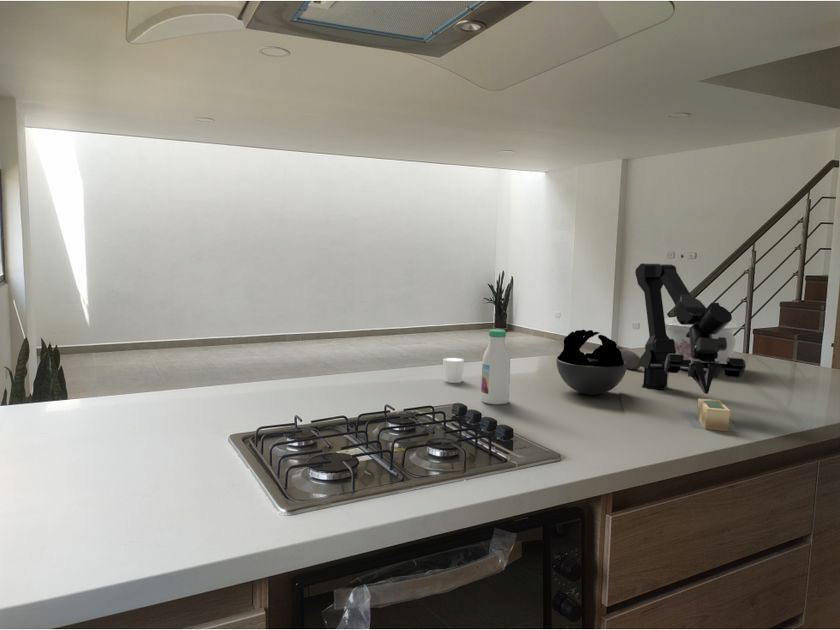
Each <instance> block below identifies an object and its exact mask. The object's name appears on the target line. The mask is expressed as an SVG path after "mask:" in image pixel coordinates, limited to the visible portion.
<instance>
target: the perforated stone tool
mask: <svg viewBox="0 0 840 630" xmlns="http://www.w3.org/2000/svg"><path fill="white" fill-rule="evenodd" d="M616 347H617V348H619V350H620V351H621V355H622V358H623V361H625V362H627V369H626V370H633V371H634V370H635V371H636V370H639V369H640V368H642V367H641V366H640V364H639V359H640V358H641V356H639V355H638V354H637V353H635V352H633V351H631V350H630V349H627V348H623V347H621V346H619V347H618V346H616Z"/></svg>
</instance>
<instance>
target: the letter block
mask: <svg viewBox="0 0 840 630" xmlns="http://www.w3.org/2000/svg"><path fill="white" fill-rule="evenodd" d="M696 410H697V418H698V420H699V421H700V423H701V424H702V426H703V427H704V428H705V429H704V430H707V431H709V430H711V431H721V432H722V431H723V432H729V431H728V428H729V421H730V414H731V410H730V409H729V408H728V407H727V406H726V404H724V403H723V402H722V400H720V399H711V398H709V399H708V398H698V400H697V409H696Z"/></svg>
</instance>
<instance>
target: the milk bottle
mask: <svg viewBox="0 0 840 630" xmlns="http://www.w3.org/2000/svg"><path fill="white" fill-rule="evenodd" d="M506 336H507V331H506V330H505V329H494V328H493V329H489V331H488V339H489V342H488V345H487V347H486V349H485V351H484V354H483V356H482V368H481V389H480V390H481V391H480V392H481V393H480V397H481V398H480V400H481V402H482V403H485V404H489V405H497V406H499V405H507V404H508V403H509V401H510V391H511V390H510V389H511V388H510V385H511V357H510V353H509V351H508V348H507V346H506Z"/></svg>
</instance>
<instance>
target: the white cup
mask: <svg viewBox="0 0 840 630" xmlns="http://www.w3.org/2000/svg"><path fill="white" fill-rule="evenodd" d="M442 364H443V378H444V379H443V380H444V382H445V383H449V384H450V383H451V384H452V383H453V384H454V383H455V384H459V383H462V382H463V377H464V369H465V358H462V357H461V358H460V357H445V358H443V359H442Z"/></svg>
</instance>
